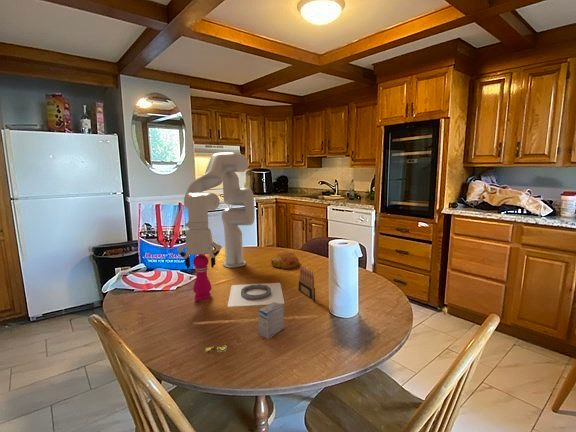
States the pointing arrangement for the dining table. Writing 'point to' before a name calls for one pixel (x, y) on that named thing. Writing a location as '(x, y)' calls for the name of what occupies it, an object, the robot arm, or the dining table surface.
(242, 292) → the ring collar
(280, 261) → the brown rounded lump
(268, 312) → the medicine box
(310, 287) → the ammunition clip
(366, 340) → the dining table surface
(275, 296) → the seat board
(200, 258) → the pepper mill
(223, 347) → the bearing assembly
